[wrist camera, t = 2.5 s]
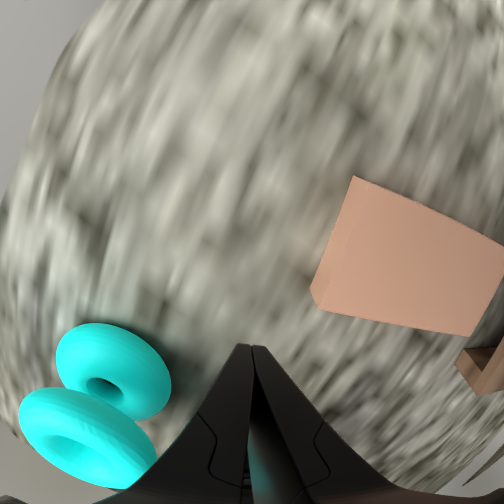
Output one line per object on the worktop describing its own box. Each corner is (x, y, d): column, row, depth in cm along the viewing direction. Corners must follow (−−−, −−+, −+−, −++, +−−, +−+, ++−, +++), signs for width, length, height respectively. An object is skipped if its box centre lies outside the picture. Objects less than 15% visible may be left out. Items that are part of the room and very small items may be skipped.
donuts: (-12, 410, 12) (85, 409, 11) (45, 328, 21) (136, 301, 21) (77, 489, 16) (182, 496, 15) (105, 407, 25) (193, 394, 24)
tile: (308, 285, 21) (317, 308, 18) (351, 174, 18) (369, 183, 15) (452, 318, 23) (469, 337, 21) (492, 239, 20) (513, 252, 18)
